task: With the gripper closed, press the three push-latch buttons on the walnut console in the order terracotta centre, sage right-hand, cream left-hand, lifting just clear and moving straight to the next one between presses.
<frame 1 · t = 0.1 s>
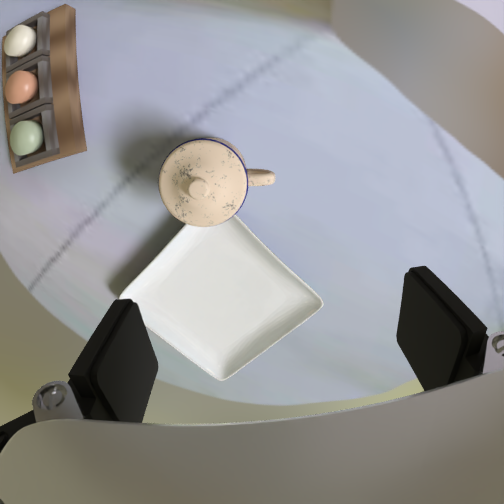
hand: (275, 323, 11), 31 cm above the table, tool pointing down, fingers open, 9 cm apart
teacup with lid: (223, 171, 39), on the table, touching salad plate
terracotta button: (21, 87, 28), point 6 cm above the table, slide at 0.0 cm
button console: (44, 88, 33), on the table
sage button: (26, 137, 31), point 6 cm above the table, slide at 0.0 cm
cream button: (20, 41, 26), point 6 cm above the table, slide at 0.0 cm
salad plate: (219, 292, 46), on the table, touching teacup with lid
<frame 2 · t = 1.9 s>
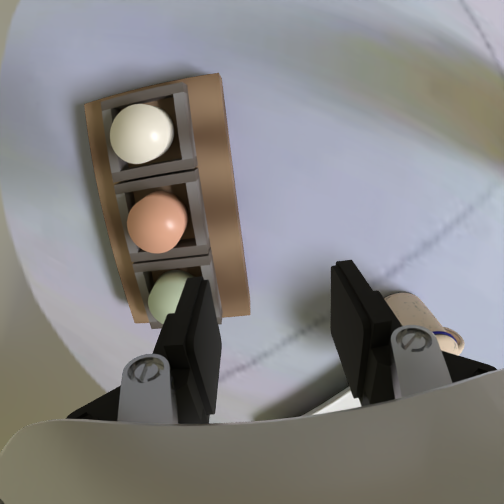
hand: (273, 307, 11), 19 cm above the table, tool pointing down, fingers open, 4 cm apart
teacup with lid: (402, 320, 35), on the table, touching salad plate
terracotta button: (158, 221, 24), point 6 cm above the table, slide at 0.0 cm
button console: (173, 204, 30), on the table
sage button: (175, 299, 27), point 6 cm above the table, slide at 0.0 cm
cream button: (142, 133, 22), point 6 cm above the table, slide at 0.0 cm
salad plate: (366, 411, 42), on the table, touching teacup with lid
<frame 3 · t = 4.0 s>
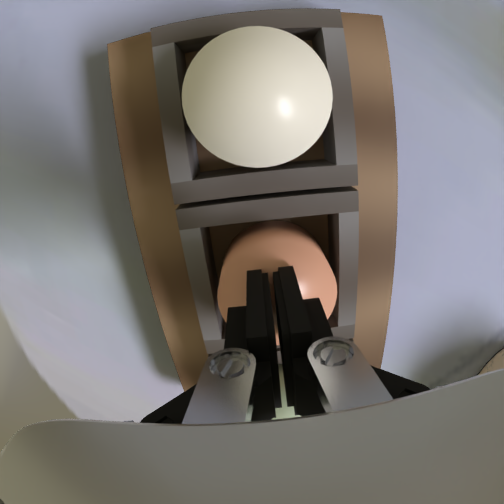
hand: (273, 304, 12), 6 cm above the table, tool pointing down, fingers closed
terracotta button: (275, 283, 13), point 5 cm above the table, slide at 0.6 cm, touching gripper
button console: (269, 238, 17), on the table
sage button: (286, 406, 15), point 6 cm above the table, slide at 0.0 cm
cream button: (256, 97, 10), point 6 cm above the table, slide at 0.0 cm
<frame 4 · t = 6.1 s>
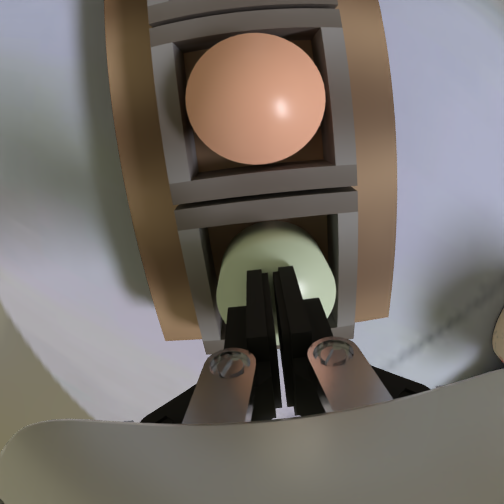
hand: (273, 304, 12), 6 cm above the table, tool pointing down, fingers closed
terracotta button: (255, 99, 10), point 5 cm above the table, slide at 0.8 cm
button console: (253, 106, 15), on the table
sage button: (274, 283, 13), point 5 cm above the table, slide at 0.6 cm, touching gripper
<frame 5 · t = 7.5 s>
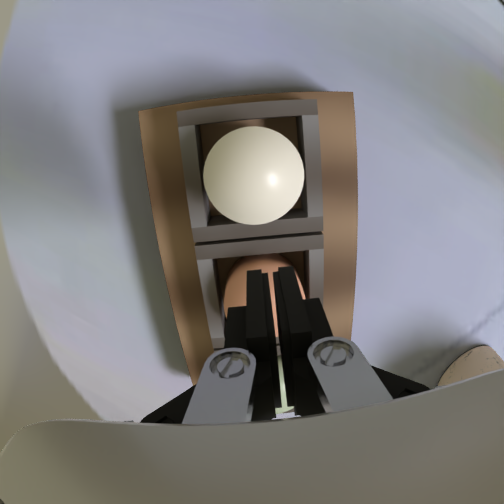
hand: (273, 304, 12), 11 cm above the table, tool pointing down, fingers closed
teacup with lid: (473, 370, 29), on the table, touching salad plate
terracotta button: (263, 295, 18), point 5 cm above the table, slide at 0.8 cm
button console: (260, 261, 23), on the table
sage button: (270, 382, 21), point 5 cm above the table, slide at 0.8 cm
cream button: (253, 172, 15), point 6 cm above the table, slide at 0.0 cm
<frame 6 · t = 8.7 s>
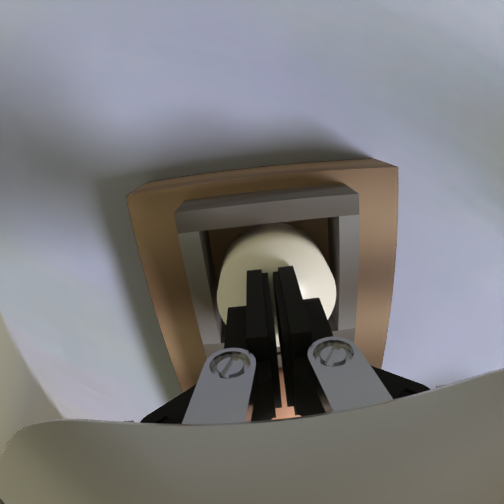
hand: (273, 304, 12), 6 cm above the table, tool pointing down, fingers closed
terracotta button: (284, 398, 16), point 5 cm above the table, slide at 0.8 cm
button console: (278, 343, 20), on the table
cream button: (275, 284, 13), point 5 cm above the table, slide at 0.7 cm, touching gripper
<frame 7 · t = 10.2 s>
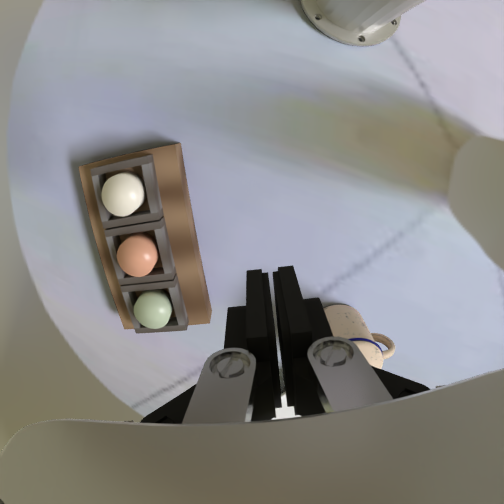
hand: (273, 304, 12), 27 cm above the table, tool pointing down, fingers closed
teacup with lid: (343, 327, 44), on the table, touching salad plate
terracotta button: (138, 254, 34), point 5 cm above the table, slide at 0.8 cm
button console: (149, 239, 39), on the table
sage button: (153, 308, 37), point 5 cm above the table, slide at 0.8 cm
cream button: (124, 193, 32), point 5 cm above the table, slide at 0.8 cm
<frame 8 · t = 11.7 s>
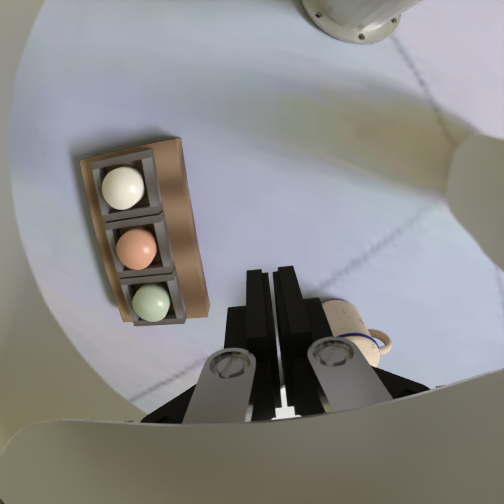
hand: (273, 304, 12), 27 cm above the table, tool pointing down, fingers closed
teacup with lid: (340, 322, 45), on the table, touching salad plate
terracotta button: (137, 247, 35), point 5 cm above the table, slide at 0.8 cm
button console: (149, 233, 39), on the table
sage button: (152, 301, 37), point 5 cm above the table, slide at 0.8 cm
cream button: (124, 187, 32), point 5 cm above the table, slide at 0.8 cm
salad plate: (319, 400, 51), on the table, touching teacup with lid
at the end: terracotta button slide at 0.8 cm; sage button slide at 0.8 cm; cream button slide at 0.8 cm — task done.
